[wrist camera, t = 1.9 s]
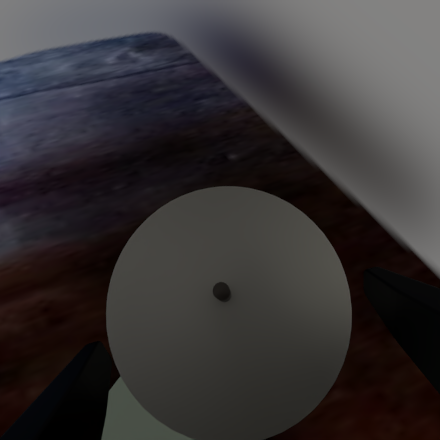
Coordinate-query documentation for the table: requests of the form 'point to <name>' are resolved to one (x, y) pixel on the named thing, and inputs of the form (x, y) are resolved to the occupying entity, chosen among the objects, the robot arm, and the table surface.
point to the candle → (228, 314)
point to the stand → (132, 419)
